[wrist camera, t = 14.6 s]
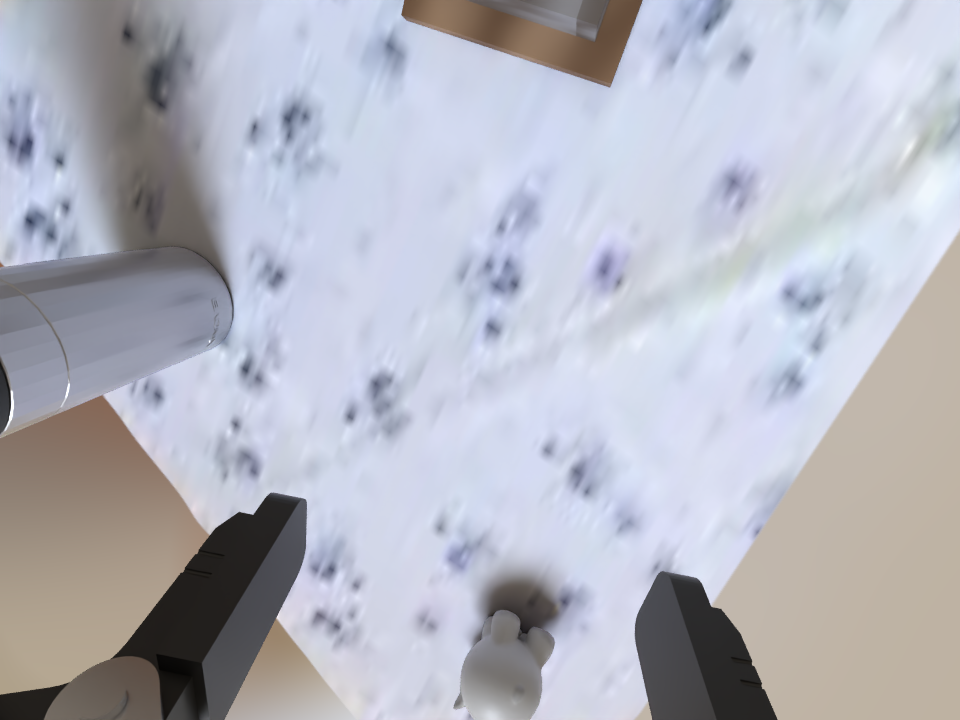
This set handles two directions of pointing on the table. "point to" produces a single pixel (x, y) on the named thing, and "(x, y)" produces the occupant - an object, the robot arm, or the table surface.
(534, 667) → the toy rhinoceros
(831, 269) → the table surface
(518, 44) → the socket stand
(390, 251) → the table surface
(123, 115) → the table surface
